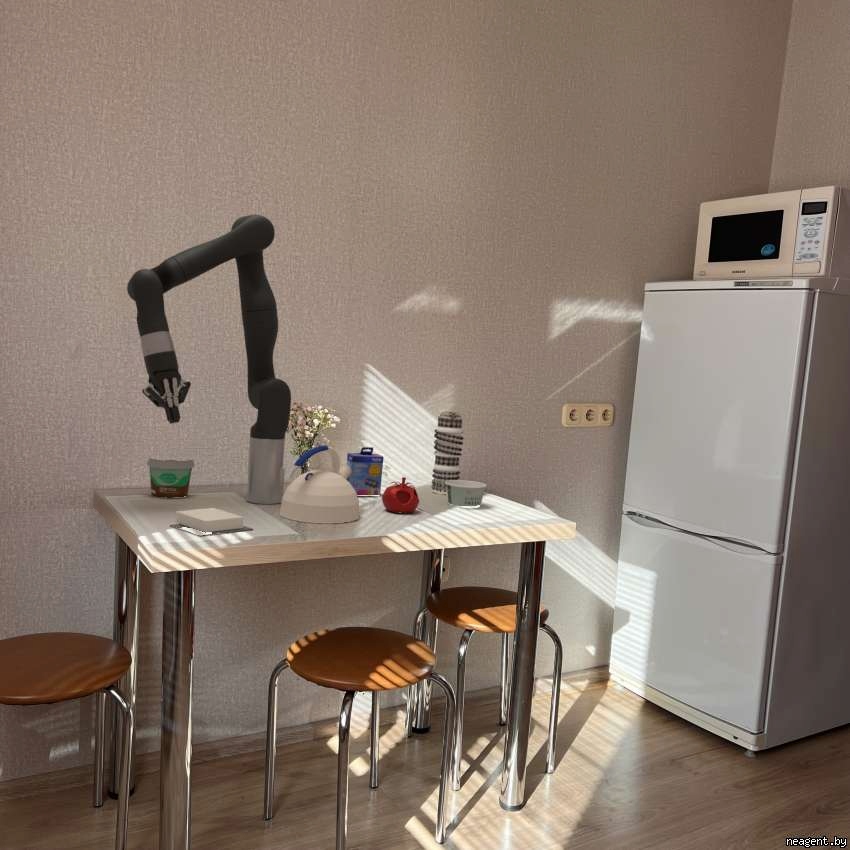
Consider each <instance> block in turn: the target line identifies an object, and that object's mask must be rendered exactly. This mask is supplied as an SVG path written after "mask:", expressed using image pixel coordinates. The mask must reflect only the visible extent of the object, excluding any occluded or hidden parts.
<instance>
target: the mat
mask: <svg viewBox="0 0 850 850" xmlns="http://www.w3.org/2000/svg"><path fill="white" fill-rule="evenodd" d="M169 526H170V527H171V526H174V527H177V528H182V527H187V526H185V525H182V524H179V523H175V524H170V525H169ZM174 527H173V528H174ZM177 528H176V529H177ZM187 528H190V527H187ZM249 530H250V531H254V529H253V528H252V527H248V526H246V525H243V528H239V529H231V530H223V531H214V532H212V534H217V533H226V534H231V533H230V532H234V533H241V532H248V531H249Z"/></svg>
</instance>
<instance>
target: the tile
mask: <svg viewBox="0 0 850 850" xmlns="http://www.w3.org/2000/svg"><path fill="white" fill-rule="evenodd" d="M244 520H245V519H244V516H241V515H239V514H238V515H237V514H235V513H231V512H228V511H225V510H222V509H218V508H214V507H209V508H198V509H190V510H189V509H187V510H177V511H175V524H182V525H185V526H187V527H190V528H193V529H196V530H199V531H202V532H205V533H206V532H214V531H223V530H231V529H239V528H243V526H244Z"/></svg>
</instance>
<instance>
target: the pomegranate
mask: <svg viewBox="0 0 850 850" xmlns="http://www.w3.org/2000/svg"><path fill="white" fill-rule="evenodd" d="M406 480H407V477H405V476H403V477H401V482H400V481H391V482H390V484H392V485H391V486H390V485H389V486H387V487H386V488H385V490H384V492H383V494H382V495H381V501H382V504H383V506H384V508H385V509H386V510H387V511H389V512H391V511H393V513H395V512H401V513H400V514H407V513H406V512H412V513H413V511H414V512H415V511H416V510H417V507H418V506H419V504H420V501H419V500H420V498H419V494H418V493H417V490H416V487H415V485H412V482H406ZM393 483H394V484H393Z"/></svg>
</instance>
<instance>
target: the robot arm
mask: <svg viewBox="0 0 850 850" xmlns="http://www.w3.org/2000/svg"><path fill="white" fill-rule="evenodd" d="M275 233H276V232H275V226H274V225H273V223H272V222H271V220H270V219H268V218H267V217H266V216H264V215H260V214H250V215H244V216H241V217H239V218H237V219H236V220H235V221H234V222H233V224H232V226H231V229H230V231H228V232H227V233H225V234H222V235H221V236H219V237H216V238H214V239H211V240H208V241H206V242H205V241H204V242H203V243H200V244H198V245H195V246H192V247H190V248H186V249H185V250H182V251H180V252H178V253H176V254H174V255H172V256H170V257H167V258H166V259H164V260H163V261H161V262H160V263H159V264H158V265H157V266H155V267H152V268H150V269H148V268H141V269H139V270H137V271H135V272H134V273H133V274H132V276H131V277H130V279H129V280H128V282H127V286H126V291H127V294H128V296H129V297H130V298H131V300H133V301H134V302H135V306H136V307H135V308H136V311H137V312H136V325H137V329H138V333H139V340H140V348H141V353H142V356H143V361H144V364H145V370H146V374H147V375H148V384H147V385H146V387H144V388H142V389H141V392H142V394H144V396H146V398H148V399H149V400H150V402H151V403H152V404H154V405H155V406H156V407H157V408H163V409H164V411H165V415H166V416H165V417H166V420H167V421H168V422H169V424H170V425H171V424H172V425H173V424H176V423H179V422H180V420H181V414H180V409H179V405H181V404H182V403H183V404H184V403H185V402H186V401H185V400H186V398H187V395H188V393H189V390H190V388H191V385H192V383H191V381H186V380H184V379H183V378H182V375H181V373H180V372H179V362H178V359H177V354H176V349H175V343H174V341H173V338H172V335H171V332H170V328H169V327H170V326H169V323H168V319H167V315H166V311H165V310H166V309H165V299H164V298H165V297H164V294H166V293H167V292H169V291H170V290H172V289H175V288H176V287H178V286H181V285H184V284H186V283H188V282H190V281H192V280H193V279H196V278H197V277H199V276H201V275H203V274H206V273H207V272H210V271H211V270H212V269H215V268H216V267H219V266H222V264H225V263H227V262H228V261H232V260H233V259H235V262H236V263H235V264H236V269H237V276H238V287H239V288H238V290H239V298H240V311H241V319H242V329H243V334H244V335H243V337H244V347H245V353H246V362H247V365H246V366H247V397H248V400H249V403H250V404H251V406H252V407H253V408H255V409H256V410H257V414H256V415H257V417H256V420H255V423H254V424H253V425H252V426H251V427H250V430H249V431H250V432H249V448H248V464H247V466H248V467H247V481H246V483H247V484H246V501H247V502H249V503H251V504H252V503H253V504H259V505H260V504H263V505H266V504H267V505H273V504H281V503H282V497H283V495H284V483H285V482H284V481H285V467H284V463H285V461H284V458H285V444H286V443H285V441H286V440H285V439H286V433H287V431H288V428H289V424H290V416H291V415H290V414H291V405H292V393H291V389H290V386H289V385H288V383H287V382H286V381H284V379H283V380H282V379H280V378H276V374H275V367H274V366H275V365H274V351H275V346H276V342H277V338H278V334H279V319H278V317H279V316H278V308H277V307H278V306H277V301H276V297H275V295H274V292H273V290H272V287H271V285H270V282H269V280H268V278H267V274H266V270H265V264H264V253H263V252H264V250H266V249H267V248H268V247H270V245H272V244H273V242H274V240H275V236H276V235H275Z"/></svg>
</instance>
